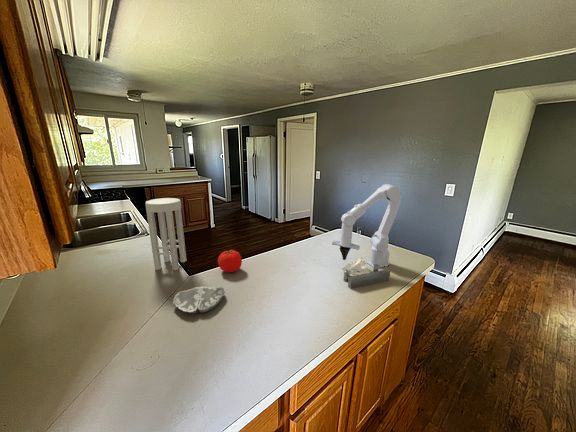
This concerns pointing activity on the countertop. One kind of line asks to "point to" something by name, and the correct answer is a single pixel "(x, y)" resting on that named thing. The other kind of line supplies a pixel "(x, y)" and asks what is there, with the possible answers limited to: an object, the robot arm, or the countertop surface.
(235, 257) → the tomato
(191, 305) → the brain slice
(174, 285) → the countertop surface
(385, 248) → the robot arm
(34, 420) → the countertop surface
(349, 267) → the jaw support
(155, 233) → the stool
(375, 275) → the housing bracket
